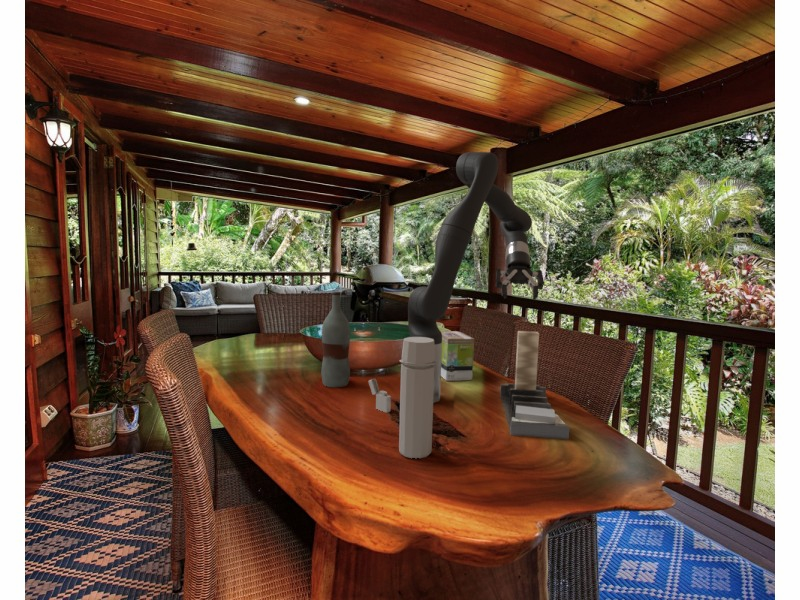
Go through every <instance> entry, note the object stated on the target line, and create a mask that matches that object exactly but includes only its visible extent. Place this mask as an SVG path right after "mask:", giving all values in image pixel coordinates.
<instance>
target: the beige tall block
mask: <svg viewBox="0 0 800 600" xmlns="http://www.w3.org/2000/svg"><path fill="white" fill-rule="evenodd" d="M539 343H540V333H539V331H532V330H531V331H530V330H529V331H528V330H527V331H526V330H518V331H517V338H516V355H515V356H516V358H515V373H514V374H515V376H514V384H515V389H527V390H536V385H537V377H538V363H539V362H538V361H539V360H538V359H539Z"/></svg>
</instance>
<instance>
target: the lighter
mask: <svg viewBox="0 0 800 600" xmlns="http://www.w3.org/2000/svg"><path fill="white" fill-rule="evenodd" d="M367 382H368V385H369V387H370V391H371V394H372V396H373V395H375V410H376V409H378V410H377V411H379V410H380V411H379V412H382V411H383V413H386V414H387V413H390V412H391V408H392V407H391V404H392V399H391V398H392V396H391V395H389V394H388V392H387V391H385V390H380V388H379V385H378V382H377V379H376V378H371V379H369V380H368V381H367Z"/></svg>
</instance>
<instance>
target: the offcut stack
mask: <svg viewBox="0 0 800 600" xmlns="http://www.w3.org/2000/svg"><path fill="white" fill-rule="evenodd" d="M512 421H518V422H530V423H545V424H559V425H566V423H565V422H564V421H563V420H562V419H561V417H560V416H559V415H558V414H556V413H555V409H553V408H551V409H545V408H536V407H527V406H518V405H516V413H515V417H512Z"/></svg>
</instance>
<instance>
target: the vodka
mask: <svg viewBox="0 0 800 600" xmlns="http://www.w3.org/2000/svg"><path fill="white" fill-rule="evenodd" d="M341 293H342V292H341V291H332V293H331V294H332V295H331V297H332V298H331V310H330V311H329V312H328V314H327V316H326V317H325V318H324V320H323V322H322V328H321V342H322V355H323V357H322V363H321V369H320V370H321V371H320V372H321V380H322V384H323V386H325V387H326V386H327V387H328V388H343V387H347V385H348V384H349V381H350V376H351V375H350V374H351V369H350V358H349V354H350V353H349V352H350V341H351V326H350V322H349V320H348V319H347V317H346V315H345V314H344V311H343V310H342V309H341ZM327 387H326V388H327Z"/></svg>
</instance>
